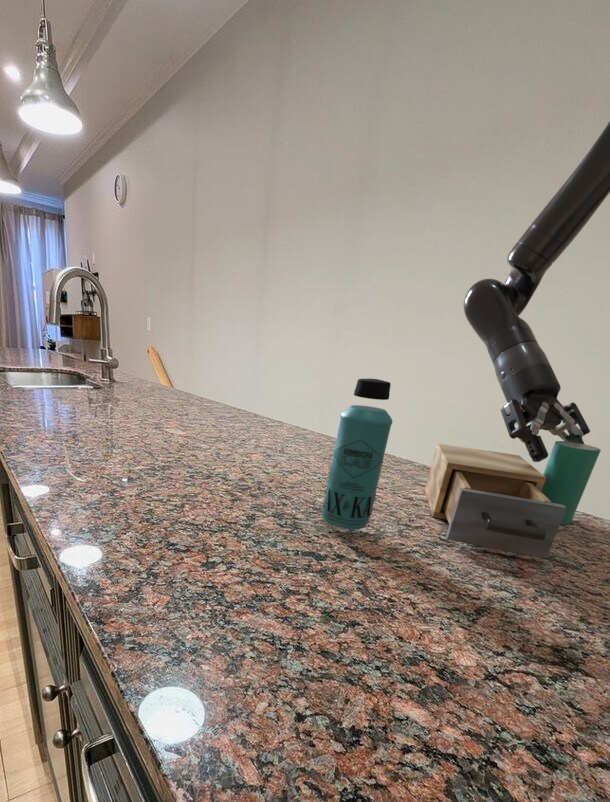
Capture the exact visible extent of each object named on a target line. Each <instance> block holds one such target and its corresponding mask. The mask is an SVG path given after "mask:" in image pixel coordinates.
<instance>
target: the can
mask: <svg viewBox="0 0 610 802" xmlns="http://www.w3.org/2000/svg"><path fill="white" fill-rule="evenodd" d="M601 451H602V449H600V448H599V447H596V446H593V445H589V444H585V443H584V444H581V443H575V442H567V441H564V440H557V441H555V442H554V443H553V446H552V449H551V451H550V454H549V456H548V460H547V462H546V465H545V468H544V471H543V475H544V476H545V477H546V480H545V482H544V485H543V488H542V490H541V492H542V493H543V494H544V495H545V496H546V497H547V498H548V499H549V500H550V501H551V503H556V504H562V505H564V506H565V507H566V508H567V509H566V511H565V514H564V516H563V519H562V521H561V524H560V525H570V524H572V521H573V519H574V516H575V514H576V511H577V510H578V507H579V504H580V502H581V499H582V497H583V495H584V492H585V489H586V487H587V485H588V483H589V480H590V477H591V475H592V472H593V471H594V468H595V466H596V463H597V461H598V458H599V456H600V453H601Z"/></svg>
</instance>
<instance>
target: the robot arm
mask: <svg viewBox="0 0 610 802" xmlns="http://www.w3.org/2000/svg"><path fill="white" fill-rule="evenodd" d="M609 194H610V120H609V121H608V123H607V125H606V126H605V127H604V129H603V130H602V132H601V134H600V135H599V137H598V138H597V139H596V141H595V142H594V144H593V145H592V146H591V148H590V149H589V151H588V152H587V153H586V155H585V156H584V157H583V158H582V160H581V162H579V164H578V165H577V166H576V168H575V169H574V171H573V172H572V173H571V174H570V175H569V177H568V178H567V179H566V181H565V182H564V183H563V184H562V185H561V187H560V188H559V189H558V190H557V192H555V194H554V195H553V196H552V198H551V199H550V200H549V201H548V203H547V204H546V205H545V206H544V207H543V209H542V210H541V211H540V212H539V214H538V215H537V216H536V217H535V219H534V220H533V221H532V222H531V224H530V225H529V226H528V227H527V229H526V230H525V231H524V232H523V234H522V235H521V236H520V238H519V239H518V240H517V242H516V243H515V244H514V245H513V247H512V248H511V249H510V251H509V252H508V255H507V257H506V261H507V264H508V265H509V267H510V268H511V270H510V272H509V274H508V276H507V278H506V280H505V281H504V282H502V281H500V280H498V279H495V278H483V279H481V280H478V281H476V282H475V283H473V285H471V286H470V288H468V290H467V291H466V294H465V296H464V300H463V312H464V316H465V319H466V320H467V322H468V323H469V325H470V327H471V328H472V329H473V331H474V332H475V334H476V335H477V337H478V338H479V339H480V340H481V341H482V342H483V343H484V345H485V346H486V350H487V353H488V355H489V358H490V360H491V362H492V365H493V368H494V372H495V376H496V379H497V382H498V383H499V386H500V388H501V391H502V394H503V396H504V398H505V401H506V404H504V405H503V406H502V407H501V408H500V409H499V410H500V413H501V416H502V419H503V421H504V424H505V427H506V430H507V433H508V436H509V437H510V438H511V440H512V439H513V440H514V439H519V441H520V442H521V443H523V444H524V445H525V448H526V450H527V452H528V456H529V457H530V458H531V460H532V462H534V463H540V462H542V461H543V460H546V459H547V458H549V453H548V450H547V448H546V446H545V444H544V441H543V439H542V436H541V435H539V433H540V431H541V430H544V431H548V432H549V433H550V434H551V435H553V436H558V437H559V438H560V439H561V441H567V442H575V443H581V444H585V442H584V440H583V437H584V436H586V435H588V434H590V433H591V430H590V427H589V426H588V424H587V422H586V420H585V418H584V416H583V414H582V412H581V410H580V409H579V407H578V405H577V404H576V403H575V402H573V401H571V402H570V403H569V404H567V405H563V404H562V403H561V402H560V401H559V399H558V395H559V393H560V392H561V384H560V382H559V380H558V378H557V376H556V374H555V372H554V369H553V367H552V365H551V363H550V361H549V358H548V357H547V354H546V353H545V352H544V350H543V349H542V347H541V346H540V344H539V342H538V341H537V338H536V336H535V334H534V332H533V330H532V328H531V326H530V325H529V323H528V322H527V321H526V320H524V319H523V318H521V316H520V315H521V314H522V313H523V312H524V311H525V309H526V307H527V305H528V304H529V303H530V301H531V299H532V298H533V295H534V294H535V292H536V290H537V289H538V287H539V285H540V283H541V282H542V280H543V278H544V276H545V274H546V272H547V271H548V270H549V269H550V268H551V267H552V266H553V264H554V263H555V262H556V261H557V260H558V259H559V258H560V256H562V254H563V253H564V252H565V251H566V249H567V248H568V247H569V246H570V245H571V243H573V241H575V239H576V237H577V236H578V235H579V234H580V232H581V231H582V230H583V228H584V227H585V226H586V225H587V224H588V222H589V221H590V220H591V218H592V217H593V215H594V214H595V213H596V212H597V210H598V209H599V208H600V206H601V205H602V204H603V202H604V201H605V200H606V198H607V197H608V196H609ZM516 424H517V426H518V427H516V426H515V425H516ZM566 431H567V432H566Z"/></svg>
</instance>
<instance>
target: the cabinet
mask: <svg viewBox="0 0 610 802" xmlns="http://www.w3.org/2000/svg"><path fill="white" fill-rule="evenodd" d="M453 469H455V470H462V471H468V472H475V473H481V474H488V475H494V476H501V477H507V478H514V479H520V480H526V481H530V482H531V483H532V484H533V485H534V486H535V487H536V488H537V489H538V490H539V491H540V492H541V490H542V488H543V485H544V482H545V480H546V477H545V476H544V475H543V474H542V472H540V471H539V470H538V469H537V468H535V467H534V466H533V465H532V464H531V463H529V462H528V461H527V460H526V459H525V458H523V457H522V456H521V455H520V454H515V453H507V452H499V451H491V450H486V449H478V448H471V447H465V446H456V445H449V444H443V443H437V444H436V448H435V451H434V455H433V458H432V463H431V466H430V470H429V474H428V477H427V481H426V484H425V489H424V492H425V496H426V500H427V502H428V503H427V504H428V506H429V510H430V513H431V517H432V518H434V519H441V520H445V521H448V520H447V517H446V514H445V512H444V509H443V504H444V501H445V497H446V494H447V490H448V487H449V483H450V480H451V476H452V473H453Z"/></svg>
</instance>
